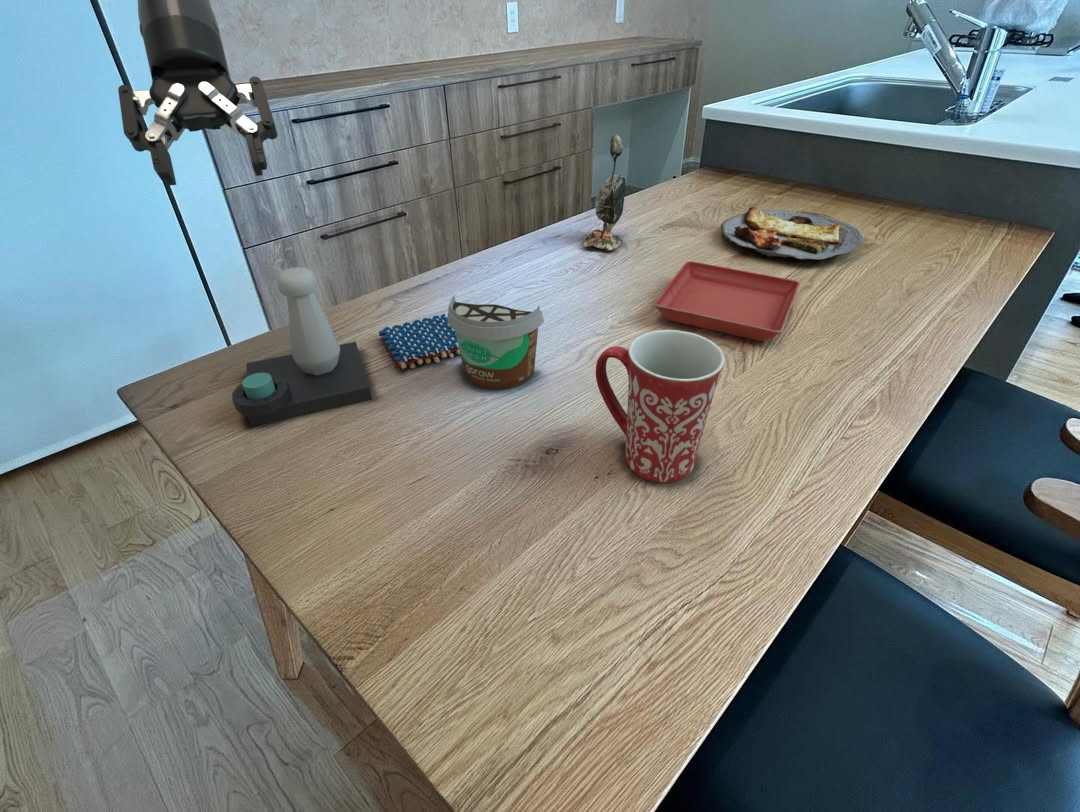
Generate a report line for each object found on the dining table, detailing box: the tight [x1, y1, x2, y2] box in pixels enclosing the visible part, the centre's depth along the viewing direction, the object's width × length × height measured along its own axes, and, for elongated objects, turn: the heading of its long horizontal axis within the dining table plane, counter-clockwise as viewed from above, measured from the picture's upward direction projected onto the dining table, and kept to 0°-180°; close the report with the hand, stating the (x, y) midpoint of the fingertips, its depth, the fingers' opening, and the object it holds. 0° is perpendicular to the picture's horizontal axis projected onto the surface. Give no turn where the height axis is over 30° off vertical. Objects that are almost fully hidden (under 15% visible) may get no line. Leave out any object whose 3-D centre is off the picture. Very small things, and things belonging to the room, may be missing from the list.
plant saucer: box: [654, 260, 801, 342], centre depth 89 cm, size 18×18×3 cm
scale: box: [231, 341, 373, 427], centre depth 73 cm, size 15×13×4 cm
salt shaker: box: [276, 266, 341, 375], centre depth 71 cm, size 6×6×13 cm
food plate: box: [720, 206, 865, 260], centre depth 111 cm, size 25×23×4 cm
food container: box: [447, 294, 545, 391], centre depth 73 cm, size 12×6×10 cm, turn 73°
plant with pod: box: [583, 133, 628, 252], centre depth 107 cm, size 8×11×20 cm
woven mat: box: [378, 313, 460, 370], centre depth 82 cm, size 10×11×2 cm
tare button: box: [241, 373, 275, 400], centre depth 68 cm, size 3×3×2 cm
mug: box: [595, 329, 726, 483], centre depth 60 cm, size 13×9×14 cm
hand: (214, 176), depth 62 cm, fingers open, 8 cm apart
